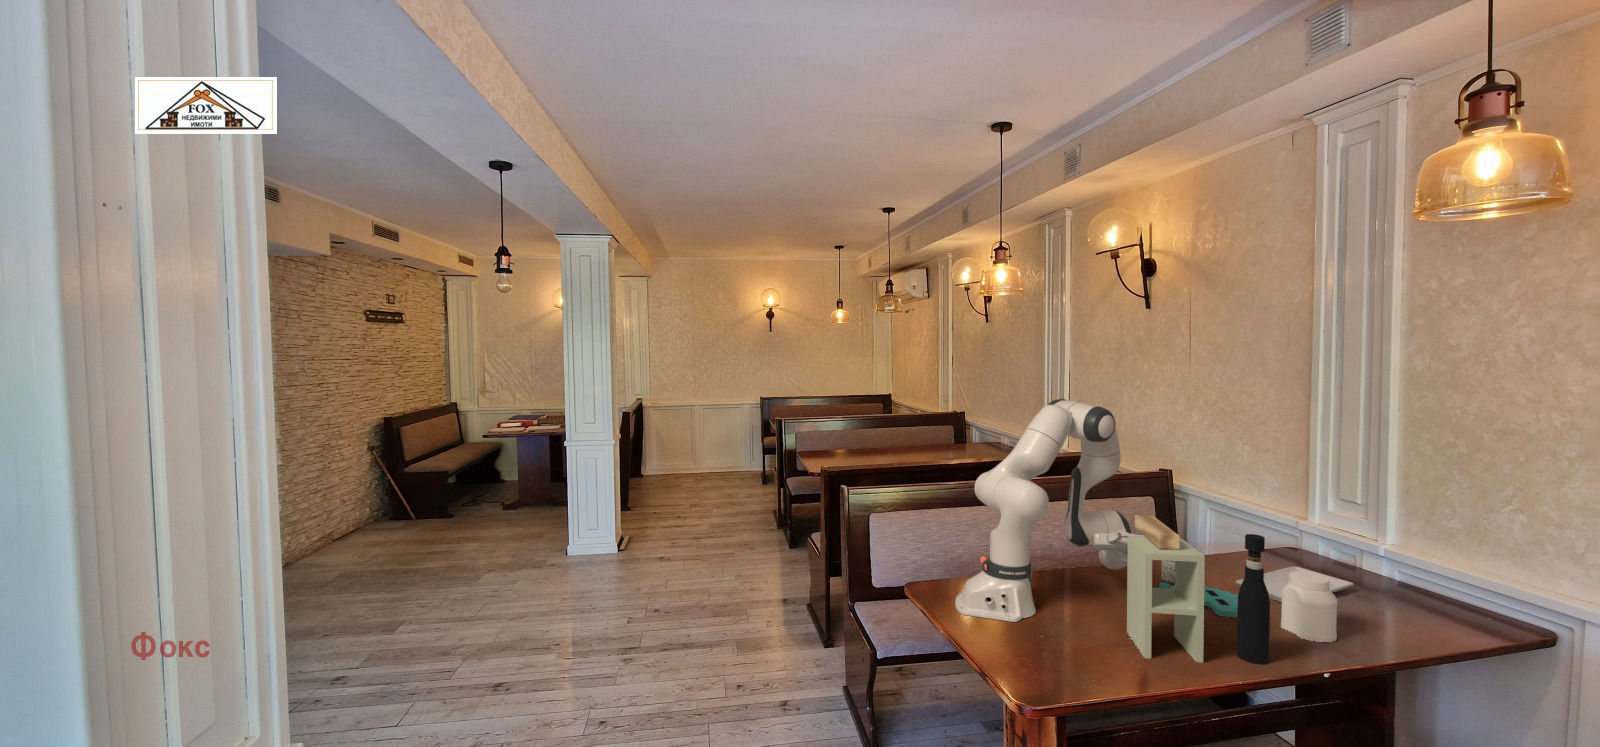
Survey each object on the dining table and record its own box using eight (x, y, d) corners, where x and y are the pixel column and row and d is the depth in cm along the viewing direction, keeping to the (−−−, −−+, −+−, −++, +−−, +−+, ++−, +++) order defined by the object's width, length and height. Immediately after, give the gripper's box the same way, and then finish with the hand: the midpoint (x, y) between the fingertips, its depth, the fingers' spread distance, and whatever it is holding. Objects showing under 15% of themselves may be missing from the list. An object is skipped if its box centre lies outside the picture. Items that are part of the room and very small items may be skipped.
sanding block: (1159, 549, 157) (1159, 535, 157) (1134, 527, 175) (1134, 514, 175) (1179, 550, 156) (1179, 535, 156) (1152, 528, 175) (1152, 515, 174)
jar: (1345, 642, 162) (1346, 584, 162) (1309, 643, 162) (1310, 585, 161) (1306, 622, 174) (1307, 568, 173) (1273, 624, 173) (1274, 569, 173)
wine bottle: (1230, 652, 158) (1232, 532, 156) (1254, 651, 158) (1256, 531, 157) (1250, 665, 151) (1252, 540, 150) (1275, 663, 152) (1278, 539, 151)
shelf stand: (1144, 658, 155) (1145, 553, 154) (1126, 632, 169) (1127, 536, 168) (1203, 662, 153) (1204, 556, 152) (1180, 636, 167) (1181, 538, 165)
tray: (1356, 593, 194) (1356, 582, 194) (1294, 612, 181) (1294, 600, 181) (1294, 575, 210) (1294, 565, 209) (1233, 591, 197) (1233, 580, 197)
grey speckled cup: (1187, 584, 202) (1187, 564, 202) (1163, 582, 204) (1163, 561, 204) (1180, 574, 211) (1181, 554, 211) (1158, 571, 214) (1158, 552, 214)
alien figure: (1184, 616, 180) (1264, 621, 176) (1184, 608, 180) (1264, 613, 176) (1159, 589, 200) (1230, 593, 196) (1159, 582, 200) (1230, 586, 195)
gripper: (1085, 535, 196) (1096, 523, 184) (1157, 538, 192) (1173, 526, 180) (1088, 556, 193) (1098, 545, 181) (1161, 559, 189) (1177, 549, 177)
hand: (1136, 536), depth 181 cm, fingers open, 8 cm apart
